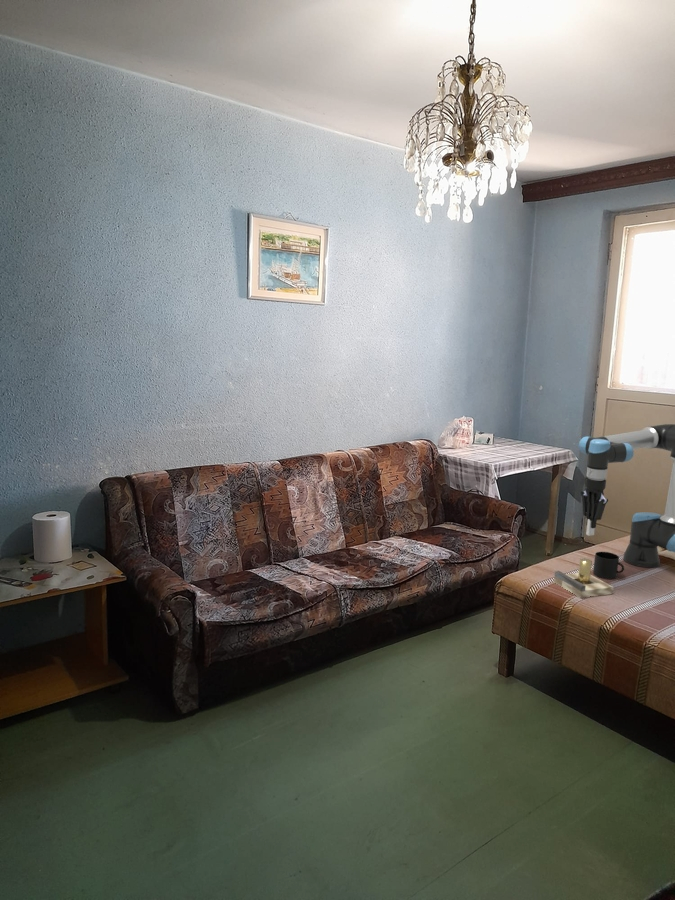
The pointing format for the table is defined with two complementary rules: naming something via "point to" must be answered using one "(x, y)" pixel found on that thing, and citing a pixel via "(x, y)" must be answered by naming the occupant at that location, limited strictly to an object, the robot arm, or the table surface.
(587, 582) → the pale yellow cylinder
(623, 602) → the table surface
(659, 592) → the table surface
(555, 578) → the jig
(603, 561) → the mug
